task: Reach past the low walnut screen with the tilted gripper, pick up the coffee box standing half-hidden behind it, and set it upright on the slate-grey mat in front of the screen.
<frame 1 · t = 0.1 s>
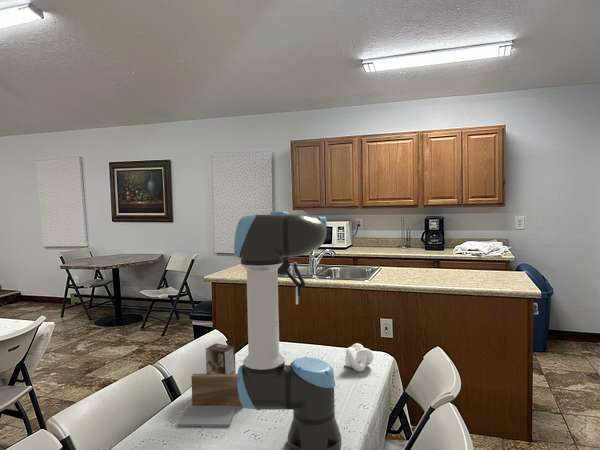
hand: (279, 303, 165), 28 cm above the table, tool pointing down, fingers open, 13 cm apart
walnut screen: (220, 403, 141), on the table
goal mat: (208, 417, 132), on the table
bread roll: (303, 370, 169), on the table
coffee box: (221, 391, 151), on the table
white lobed ornament: (357, 369, 169), on the table
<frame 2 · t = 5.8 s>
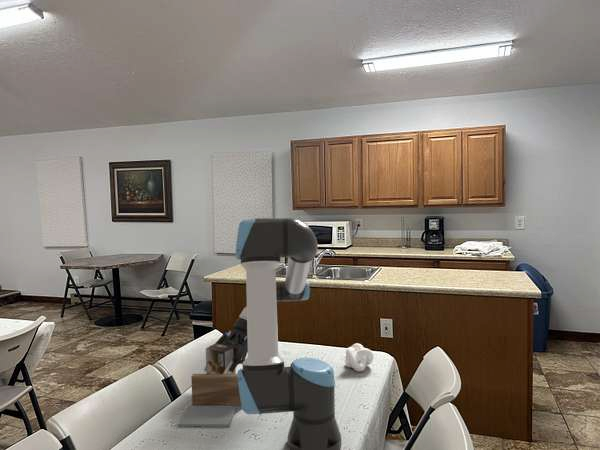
hand: (214, 375, 149), 7 cm above the table, tool tilted 45°, fingers closed on coffee box, 10 cm apart
coffee box: (221, 391, 151), on the table, touching gripper
everything else where it was.
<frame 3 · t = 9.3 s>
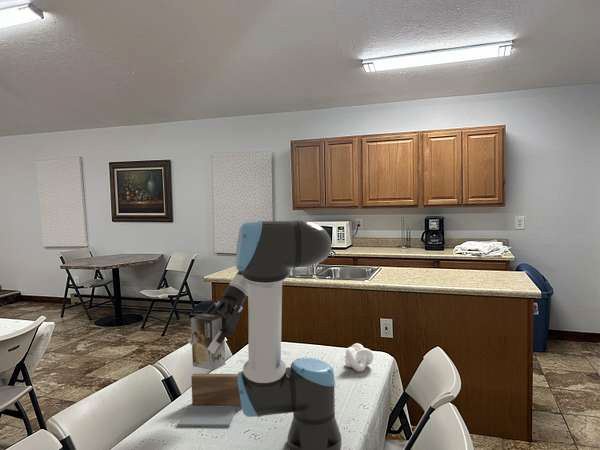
hand: (200, 347, 132), 22 cm above the table, tool tilted 45°, fingers closed on coffee box, 10 cm apart
coffee box: (209, 366, 135), point 15 cm above the table, touching gripper
everything else where it was.
when the fingers open (9 cm above the table, at t = 13.1 s): coffee box drops 2 cm, resting on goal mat.
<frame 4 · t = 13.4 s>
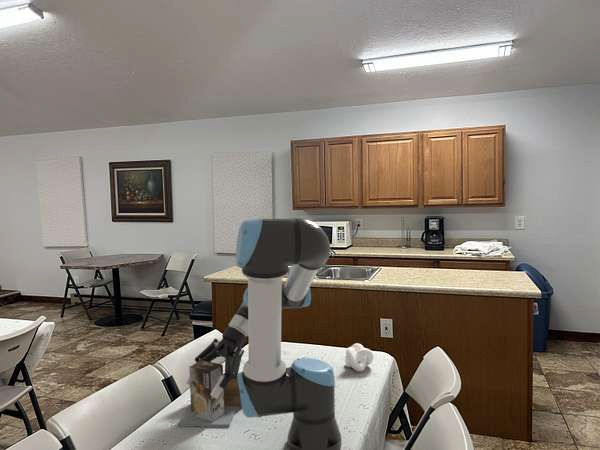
hand: (200, 390, 130), 10 cm above the table, tool tilted 45°, fingers open, 13 cm apart
coffee box: (207, 415, 133), point 1 cm above the table, touching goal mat
everything else where it was.
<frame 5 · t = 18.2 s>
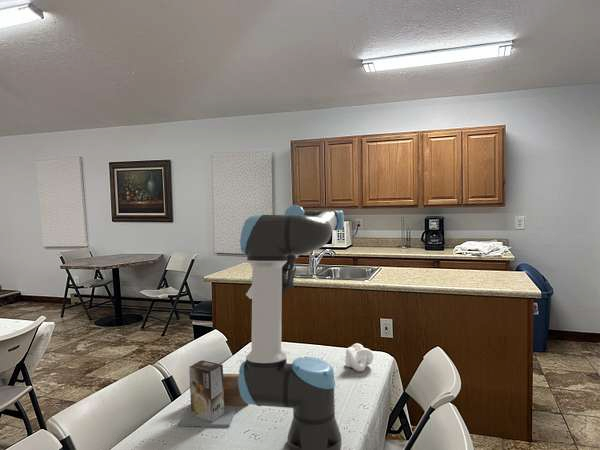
hand: (260, 299, 152), 33 cm above the table, tool tilted 45°, fingers open, 13 cm apart
at the end: coffee box inside the target area on the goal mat (0.2 cm from its centre), point 0.6 cm above the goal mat's base; coffee box tilted 0°; the gripper is holding nothing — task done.
